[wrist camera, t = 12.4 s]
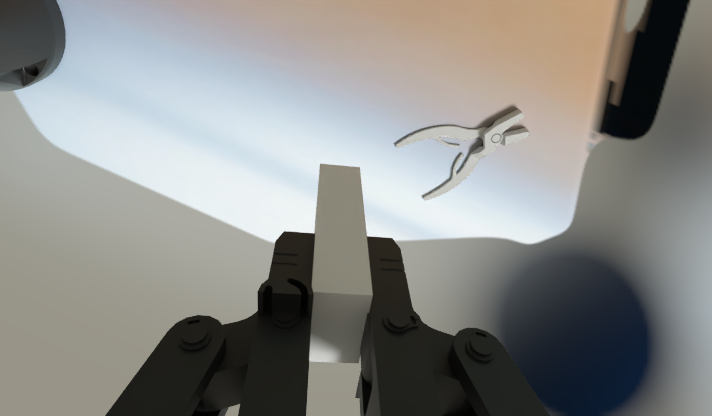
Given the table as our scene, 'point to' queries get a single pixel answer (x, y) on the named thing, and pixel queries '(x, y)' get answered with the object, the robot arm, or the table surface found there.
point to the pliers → (488, 135)
